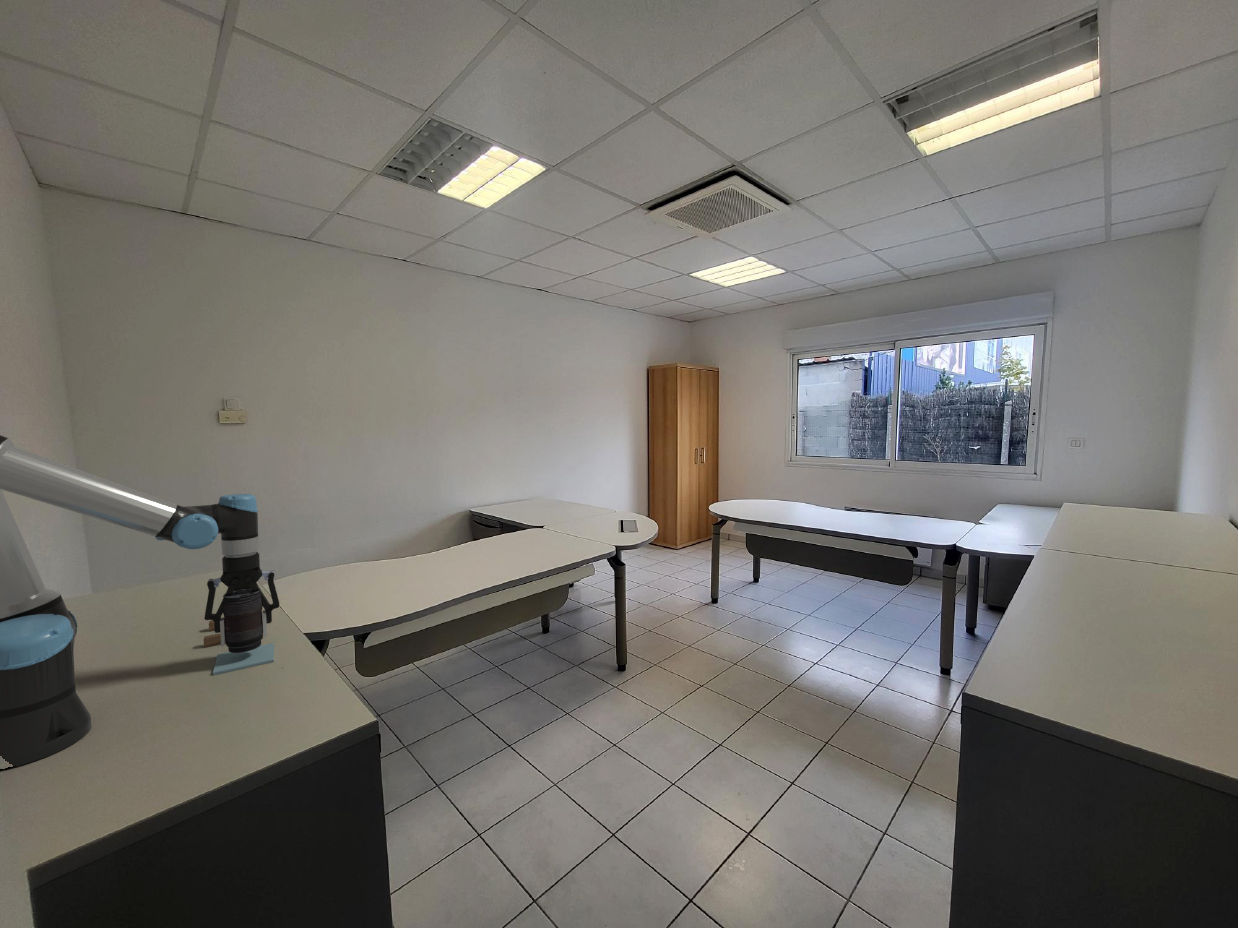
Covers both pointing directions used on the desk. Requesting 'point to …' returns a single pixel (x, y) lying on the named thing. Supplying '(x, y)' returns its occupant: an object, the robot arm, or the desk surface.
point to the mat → (244, 659)
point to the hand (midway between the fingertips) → (244, 639)
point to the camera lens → (243, 620)
